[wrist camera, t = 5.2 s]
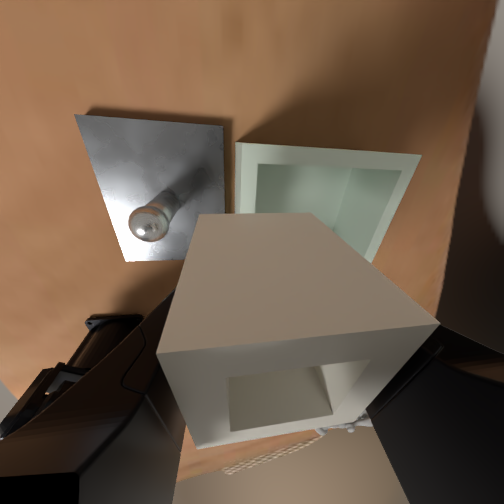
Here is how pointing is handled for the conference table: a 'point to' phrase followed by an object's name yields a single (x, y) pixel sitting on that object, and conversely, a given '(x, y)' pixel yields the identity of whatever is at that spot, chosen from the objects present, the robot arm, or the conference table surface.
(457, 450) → the robot arm
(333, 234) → the socket sleeve
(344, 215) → the bin
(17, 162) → the conference table surface
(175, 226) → the stud plate
